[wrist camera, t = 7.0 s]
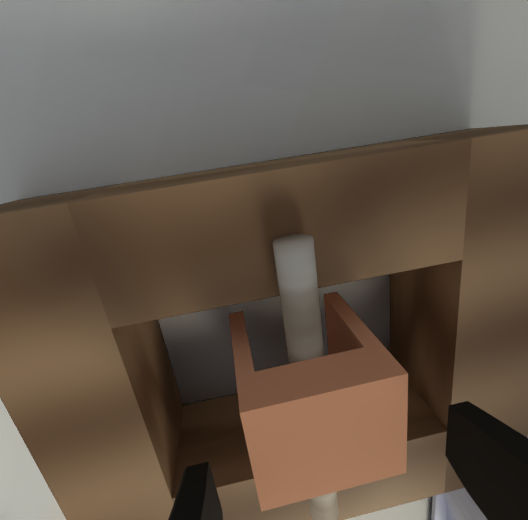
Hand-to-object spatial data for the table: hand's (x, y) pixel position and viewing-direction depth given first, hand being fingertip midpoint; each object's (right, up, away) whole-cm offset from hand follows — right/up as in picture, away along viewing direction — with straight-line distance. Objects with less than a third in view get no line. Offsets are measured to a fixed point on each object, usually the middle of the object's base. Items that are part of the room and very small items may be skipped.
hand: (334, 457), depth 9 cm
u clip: (-1, +2, +5) cm, 6 cm away
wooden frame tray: (-1, +3, +7) cm, 8 cm away
